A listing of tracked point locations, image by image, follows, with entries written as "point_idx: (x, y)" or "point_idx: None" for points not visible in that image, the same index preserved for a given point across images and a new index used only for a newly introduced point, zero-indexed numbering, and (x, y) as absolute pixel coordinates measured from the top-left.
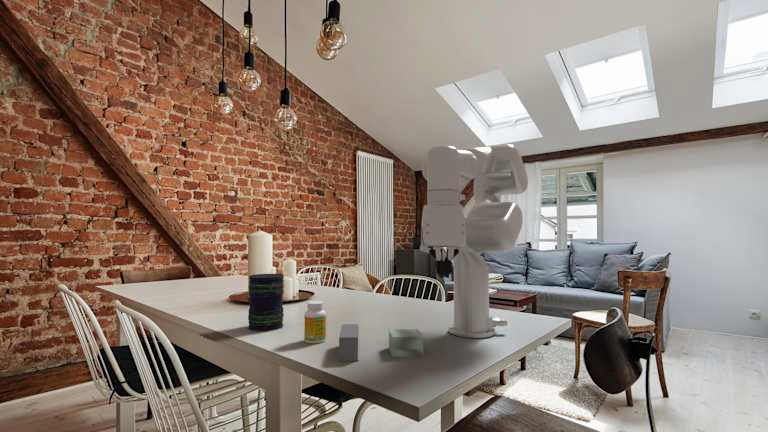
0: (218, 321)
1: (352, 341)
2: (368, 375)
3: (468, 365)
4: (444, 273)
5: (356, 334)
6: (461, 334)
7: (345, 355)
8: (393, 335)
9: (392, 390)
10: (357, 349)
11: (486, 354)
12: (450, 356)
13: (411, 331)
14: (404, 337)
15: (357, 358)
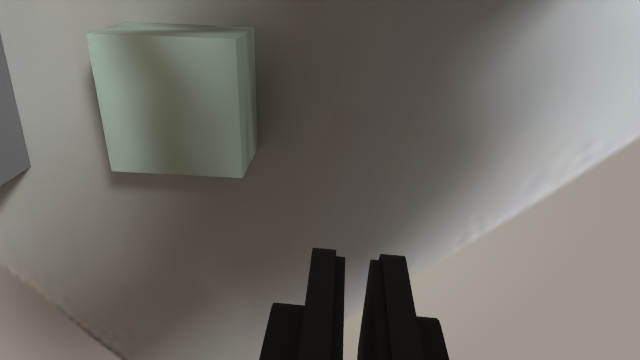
0: None
1: None
2: (85, 277)
3: (382, 251)
4: (366, 316)
5: None
6: None
7: None
8: (114, 144)
9: (150, 357)
10: (3, 183)
11: (499, 163)
12: (355, 165)
13: (198, 89)
14: (162, 173)
15: (24, 170)
